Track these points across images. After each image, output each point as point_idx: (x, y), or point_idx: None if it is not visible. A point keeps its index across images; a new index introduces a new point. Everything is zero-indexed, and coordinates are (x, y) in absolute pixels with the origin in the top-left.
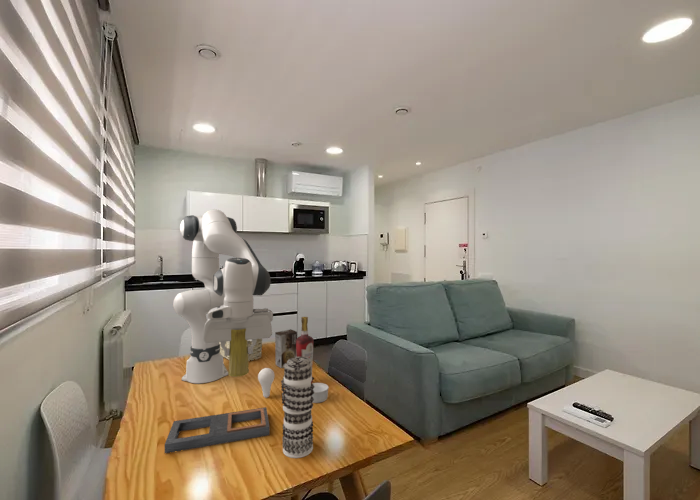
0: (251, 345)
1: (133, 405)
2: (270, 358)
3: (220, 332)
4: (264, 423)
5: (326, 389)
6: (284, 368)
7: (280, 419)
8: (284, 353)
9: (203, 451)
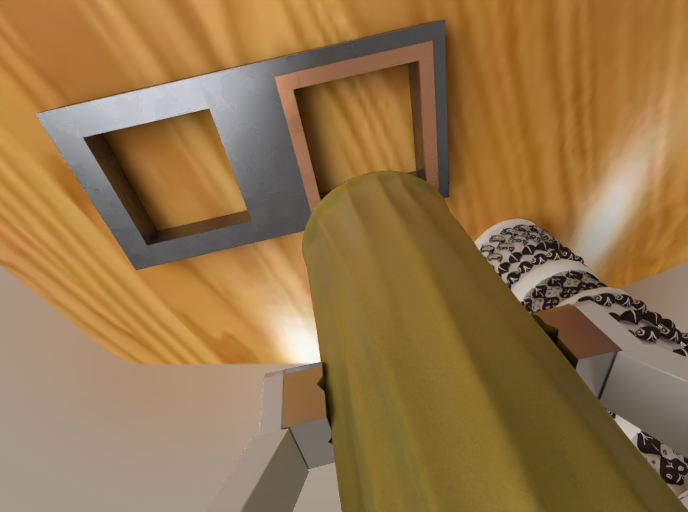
0: (642, 384)
1: None
2: None
3: None
4: (434, 181)
5: None
6: (664, 480)
7: (485, 79)
8: None
9: (259, 250)
